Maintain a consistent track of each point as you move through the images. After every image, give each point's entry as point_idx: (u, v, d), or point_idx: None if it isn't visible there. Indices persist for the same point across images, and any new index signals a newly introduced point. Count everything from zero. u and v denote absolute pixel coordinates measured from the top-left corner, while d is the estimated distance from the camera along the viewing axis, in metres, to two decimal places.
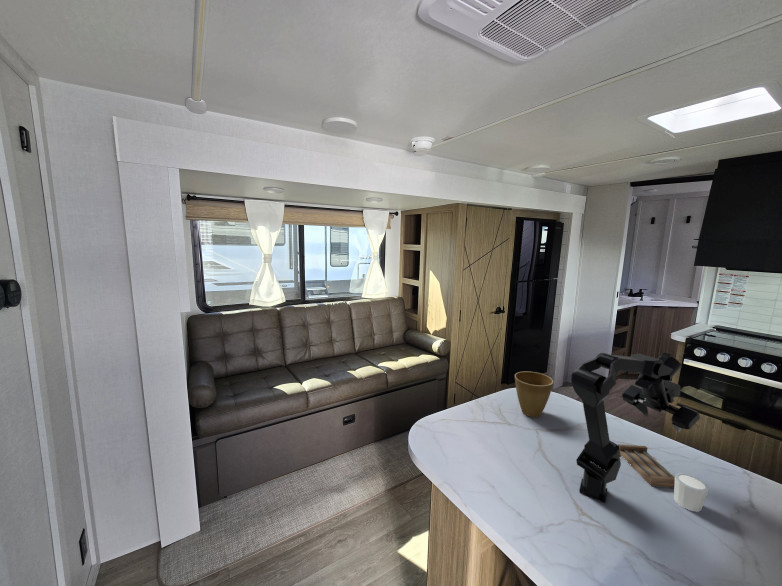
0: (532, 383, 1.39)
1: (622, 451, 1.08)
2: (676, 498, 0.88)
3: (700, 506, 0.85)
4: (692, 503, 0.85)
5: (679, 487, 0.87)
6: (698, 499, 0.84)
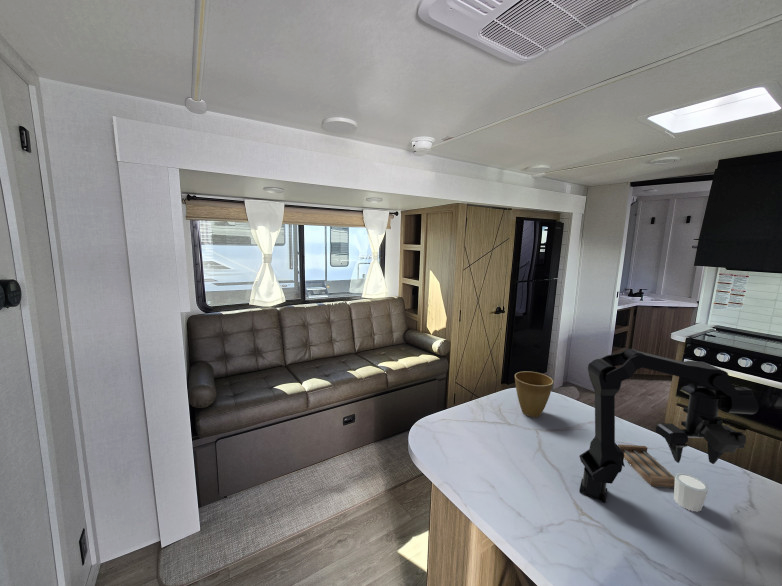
0: (532, 383, 1.39)
1: None
2: (676, 498, 0.88)
3: (700, 506, 0.85)
4: (692, 503, 0.85)
5: (679, 487, 0.87)
6: (698, 499, 0.84)
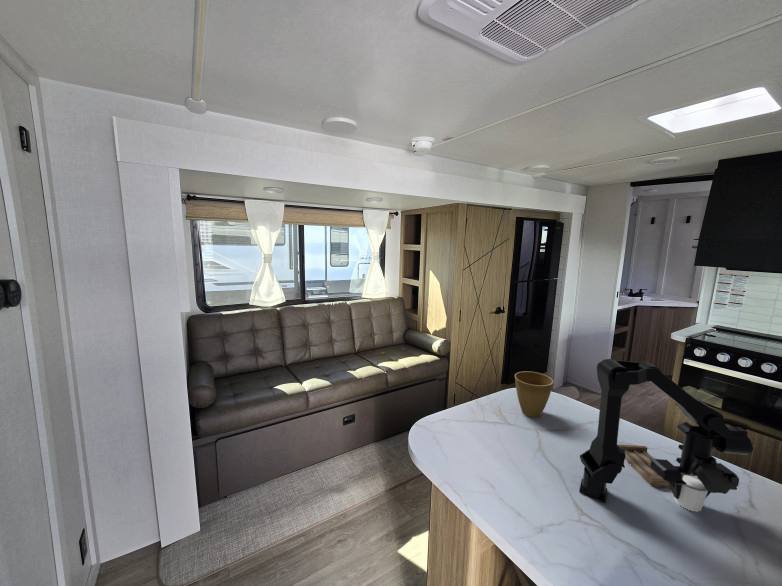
0: (532, 383, 1.39)
1: None
2: None
3: (700, 506, 0.85)
4: (692, 503, 0.85)
5: None
6: (698, 499, 0.84)
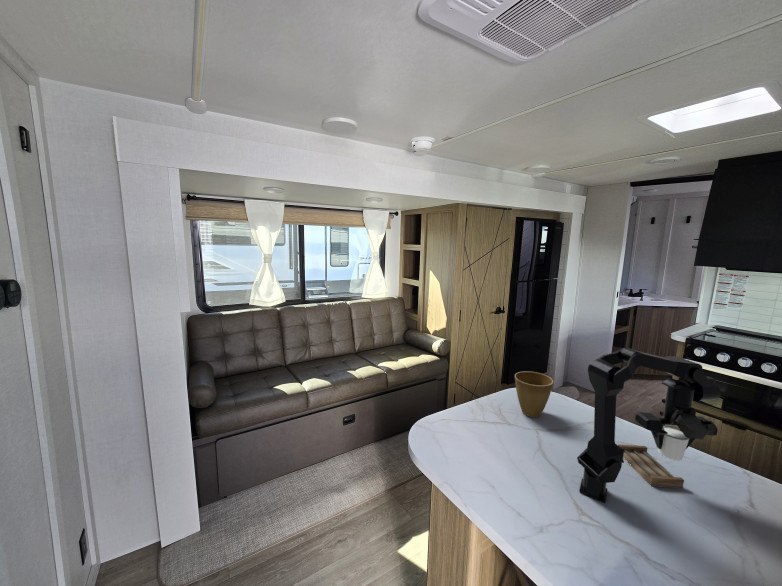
0: (532, 383, 1.39)
1: None
2: (659, 449, 0.94)
3: (681, 454, 0.91)
4: (673, 452, 0.91)
5: None
6: (679, 448, 0.90)
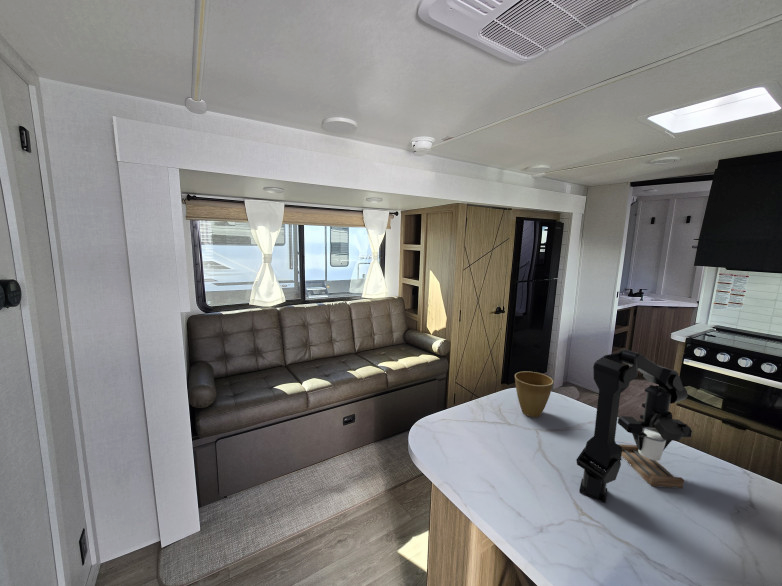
0: (532, 383, 1.39)
1: (622, 451, 1.08)
2: (639, 450, 1.01)
3: (659, 455, 0.98)
4: (652, 452, 0.98)
5: None
6: (657, 448, 0.97)
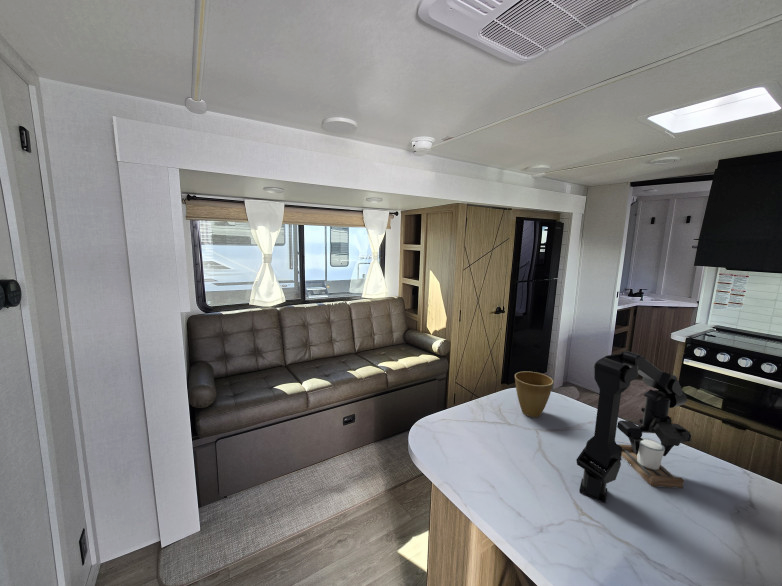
0: (532, 383, 1.39)
1: (622, 451, 1.08)
2: (638, 459, 1.02)
3: (658, 464, 0.98)
4: (651, 462, 0.99)
5: (640, 449, 1.00)
6: (656, 458, 0.98)
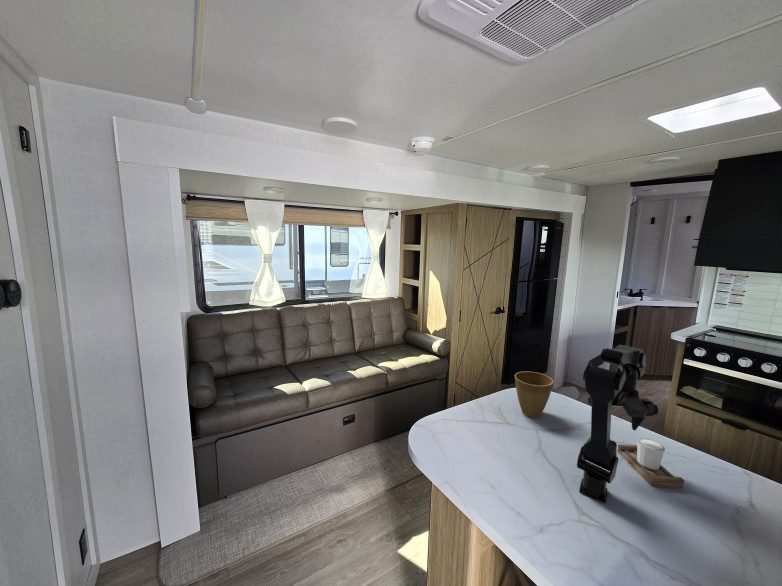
0: (532, 383, 1.39)
1: (622, 451, 1.08)
2: (638, 459, 1.02)
3: (658, 464, 0.98)
4: (651, 462, 0.99)
5: (640, 449, 1.00)
6: (656, 458, 0.98)
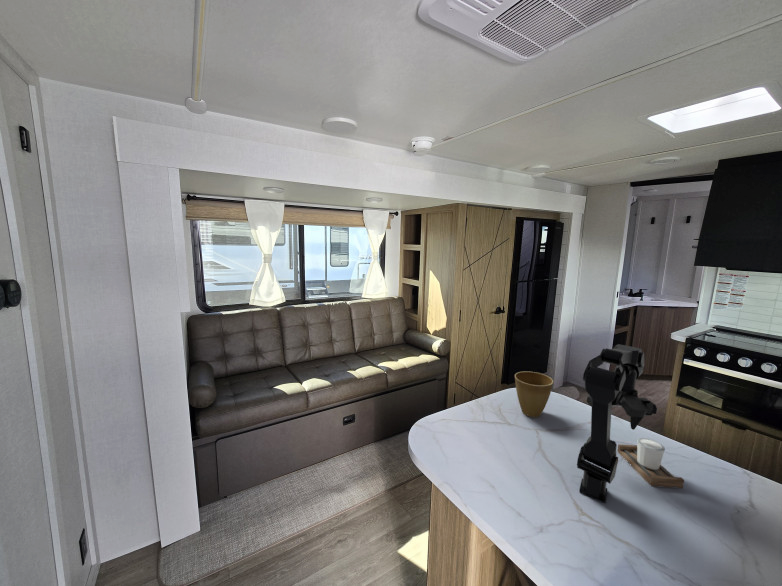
0: (532, 383, 1.39)
1: (622, 451, 1.08)
2: (638, 459, 1.02)
3: (658, 464, 0.98)
4: (651, 462, 0.99)
5: (640, 449, 1.00)
6: (656, 458, 0.98)
